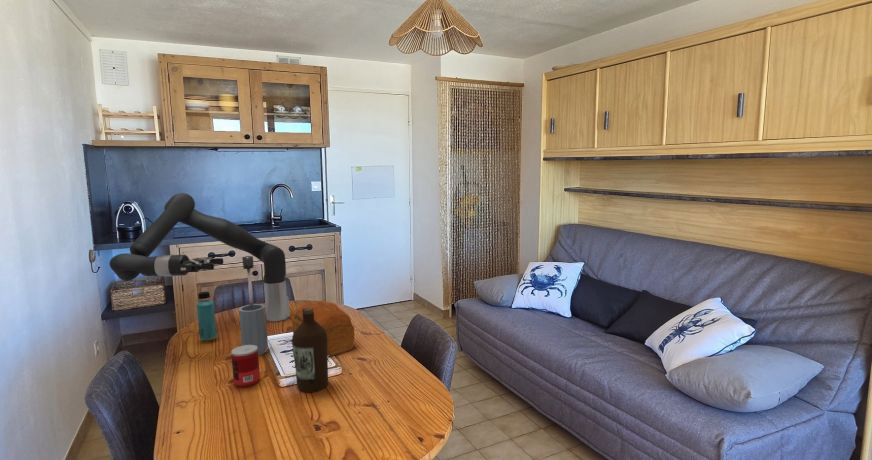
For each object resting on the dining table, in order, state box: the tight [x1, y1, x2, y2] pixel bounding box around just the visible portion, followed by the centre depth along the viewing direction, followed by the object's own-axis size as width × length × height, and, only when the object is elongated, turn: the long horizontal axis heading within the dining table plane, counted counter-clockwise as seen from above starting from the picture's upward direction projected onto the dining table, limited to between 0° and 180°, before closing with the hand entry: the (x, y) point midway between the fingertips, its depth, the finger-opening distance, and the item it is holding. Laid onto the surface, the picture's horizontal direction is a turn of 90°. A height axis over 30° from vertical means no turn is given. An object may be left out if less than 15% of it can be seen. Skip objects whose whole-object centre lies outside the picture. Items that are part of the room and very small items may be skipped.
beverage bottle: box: [195, 291, 218, 341], centre depth 188 cm, size 6×7×20 cm
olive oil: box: [291, 307, 329, 393], centre depth 147 cm, size 11×11×25 cm
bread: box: [292, 300, 356, 357], centre depth 182 cm, size 16×27×16 cm, turn 38°
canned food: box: [230, 345, 261, 388], centre depth 152 cm, size 8×8×11 cm
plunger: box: [241, 255, 255, 311], centre depth 174 cm, size 6×6×24 cm
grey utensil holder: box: [238, 303, 269, 357], centre depth 177 cm, size 10×10×17 cm
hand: (218, 263), depth 172 cm, fingers open, 8 cm apart
